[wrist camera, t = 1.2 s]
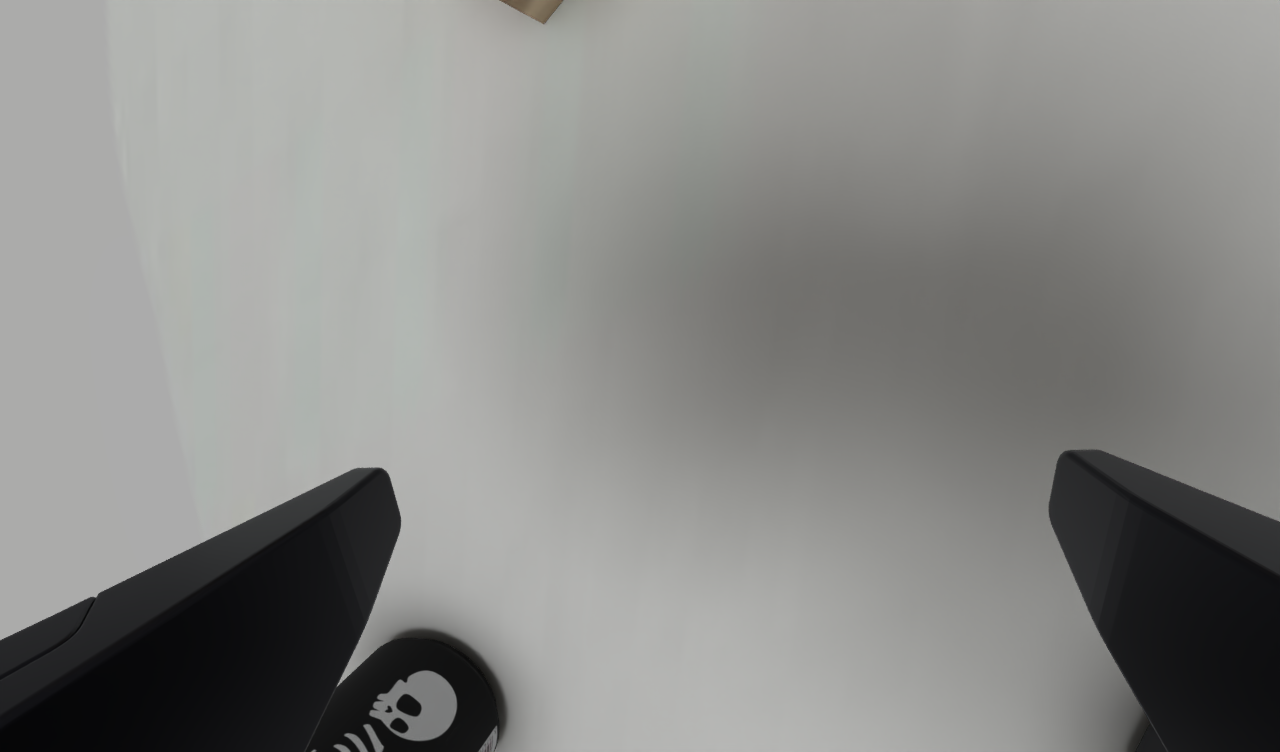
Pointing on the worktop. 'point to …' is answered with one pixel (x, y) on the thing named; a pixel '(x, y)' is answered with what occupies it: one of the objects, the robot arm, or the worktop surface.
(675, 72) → the worktop surface
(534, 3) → the tall wooden block
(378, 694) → the beverage can
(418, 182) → the worktop surface
